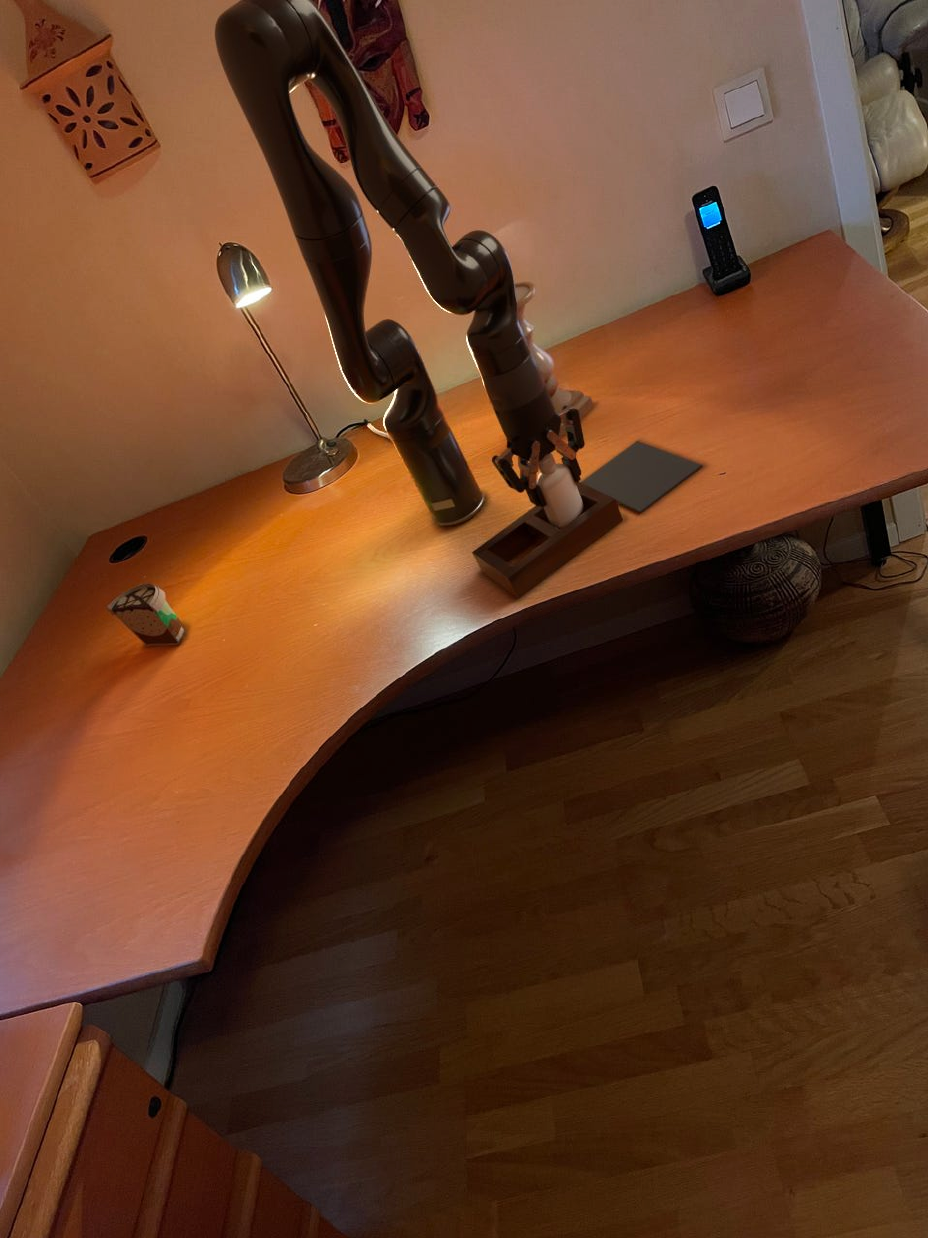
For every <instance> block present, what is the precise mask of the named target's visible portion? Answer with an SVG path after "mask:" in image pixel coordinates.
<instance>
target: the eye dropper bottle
mask: <svg viewBox="0 0 928 1238" xmlns="http://www.w3.org/2000/svg"><path fill="white" fill-rule="evenodd" d="M539 472H540V473H539V474H538V477H537V482H536V484H537V485H539V487H540V489H541V492H542V494H543V496H544V499H545V501H546V504H547V505H546V506H545V507H544V510H545V512H546V514H547V517H548V519H549V521H550V524H551V525H552V526H555V528H558V529H563V528H564V527H565V526H567V525H568V524H569V523H571V522H572V521H573V520H575V519H576V518H577V517H579V516H580V515H581V513H582V512H583V511H582V510H583V507H584V504H583V501H582V499H581V496H580V494H579V491H578V488H577V486H576V483H575V481H574V478H573V476H572V473H571V471H570V469H569V467H568V466H567V465H565V464H563V463H562V462H561V463H559V462H558V463H557V462H556V460H555V457H554V455H553V454H552V453H549V454H547V455H546V456H545V457H544V458H543V459H542V460H540V461H539Z"/></svg>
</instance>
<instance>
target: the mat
mask: <svg viewBox="0 0 928 1238" xmlns="http://www.w3.org/2000/svg"><path fill="white" fill-rule="evenodd" d="M702 468H703V464H701V463H698V462H696V461H693V460H691V459H688V458H686V457H682V456H679V455H677V454H674V453H671V452H668V451H666V450H663V449H660V448H658V447H655V446H653V445H651V444H646V443H645V442H641V441H639V440H636V441H635V442H633V443H632V444H631V445H629V446H628V447H627V448H625V449H624V450H623V451H621V452H620V453H618V454H617V455H615V456H614V457H613V458H612V459H610V460H609V461H607V463H605V464H604V465H601V467H600V468H598V469H596V470H595V471H594V472H593V473H591V474H590V475H589V476H587V477H586V478H584V479H583V480H581V481H580V482H581V483H583V484H585V485H587V486H589V487H592V488H594V489H596V490H598V491H600V492H602V493H604V494H606V495H609V496H611V497H613V498H615V499H616V502H617V504H620V505H622V506H625V507H626V508H628V509H630V510H632V511H635V512H637V513H639V514H642V513H644V512H645V511H646V510H647V509H649V508H650V507H651V506H653V505H654V504H655V503H657V502H658V501H659V500H661V499H662V498H663V497H665V496H666V495H667V494H669V493H670V492H672V491H673V490H674V489H675V488H677V487H678V486H679V485H680V484H682V483H684V482H685V481H686V480H687V479H688V478H690V477H691V476H693V475H694V474H695V473H696V472H698V471H699V470H701V469H702Z"/></svg>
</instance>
